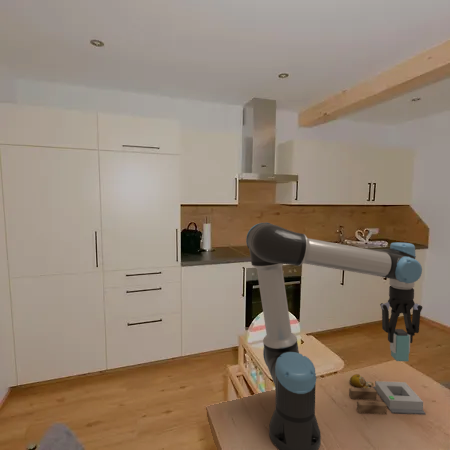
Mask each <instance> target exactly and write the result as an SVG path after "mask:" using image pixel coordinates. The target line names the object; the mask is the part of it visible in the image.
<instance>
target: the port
mask: <svg viewBox="0 0 450 450" xmlns="http://www.w3.org/2000/svg"><path fill="white" fill-rule="evenodd" d="M374 383H375V384H374V385H372V388H374V389H375V390H376V391H377V395H378V396H379V398H380V399H381V400H382V402H384V403H385V404H386V405H387V410H389V412H390V413H391V414H397V415H398V414H402V415H419V416H420V415H421V416H422V415H425V416H426V414H427V413H426V412H425V411H424V401H423V400H422V399H421V397H420V396H419V395H418V394H417V393H416V392H415V391H414V390H413V389H412V388H411V387H410V385H408V384H407V382H406V381H383V380H382V381H375V382H374Z"/></svg>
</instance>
